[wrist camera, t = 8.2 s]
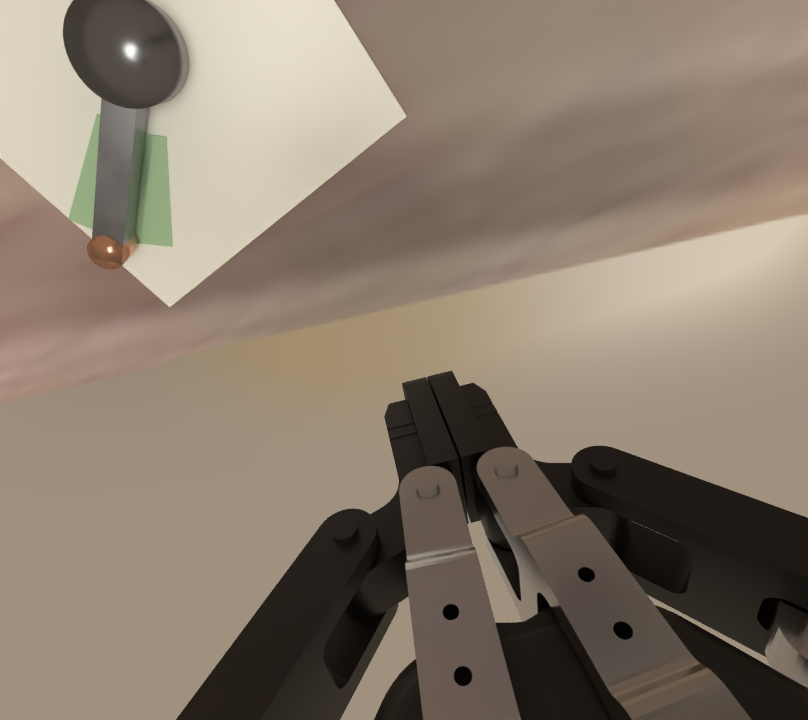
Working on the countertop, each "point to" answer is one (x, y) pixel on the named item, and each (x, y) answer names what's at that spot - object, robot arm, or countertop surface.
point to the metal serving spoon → (122, 104)
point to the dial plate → (199, 125)
